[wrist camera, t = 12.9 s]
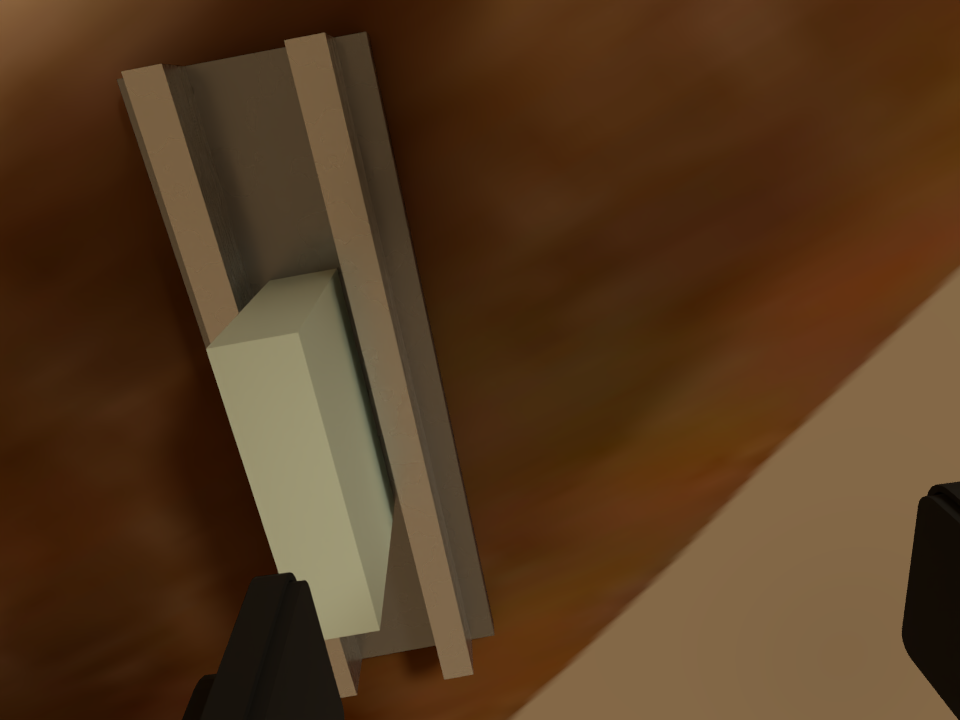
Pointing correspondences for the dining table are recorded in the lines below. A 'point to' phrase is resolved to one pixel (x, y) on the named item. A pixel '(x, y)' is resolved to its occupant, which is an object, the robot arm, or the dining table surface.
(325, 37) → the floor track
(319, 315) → the door panel
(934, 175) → the dining table surface
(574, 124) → the dining table surface
